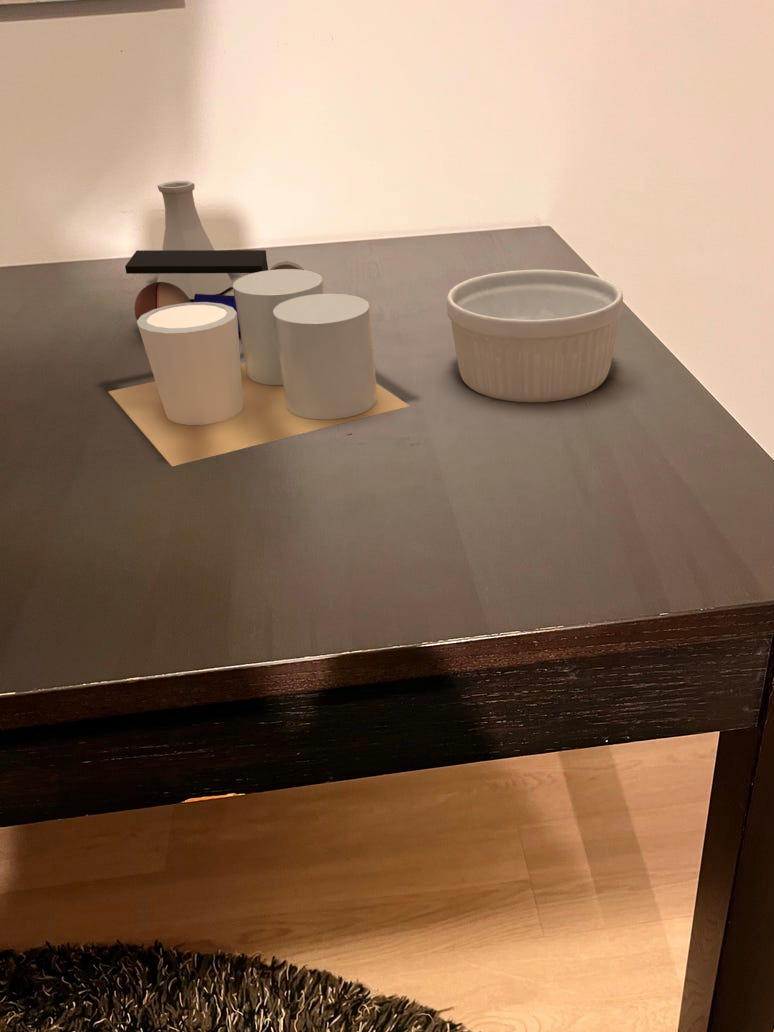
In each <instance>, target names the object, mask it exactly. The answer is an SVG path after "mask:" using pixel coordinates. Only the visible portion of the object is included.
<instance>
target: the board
mask: <svg viewBox="0 0 774 1032" xmlns="http://www.w3.org/2000/svg"><path fill="white" fill-rule="evenodd" d="M240 365H241V379H242V394H243V408H242V410H241V412H240V413H238V414H237V415H235V416H234V417H232V418H230V419H227V420H224V421H221V422H217V423H212V424H206V425H185V424H178V423H175V422H173V421H171V420H169V419H168V418H167V416H166V413H165V410H164V407H163V404H162V401H161V398H160V394H159V391H158V388H157V385H156V382H155V381H150V382H146V383H141V384H137V385H136V384H135V385H131V386H127V387H123V388H118V389H113V390H109V391H107V392H108V394H109V395H110V396H111V398H113V400H114V401H115V402H116V403H117V404H118V406H119V407H120V408H121V409H122V410H123V411H124V413H125V414H126V415H127V416H128V417H129V418H130V419H131V420H132V422H133V423H134V424H135V425H136V426H137V428H138V429H139V430H140V431H141V432H142V433H143V435H144V436H145V437H146V438H147V440H148V441H149V442H150V443H151V444H152V445H153V447H155V448H156V450H157V451H158V452H159V453H160V454H161V455H162V457H163V458H164V459H165V460H166V461H167V463H168V464H169V465H170V466H171V467H176V466H180V465H185V464H188V463H192V462H196V461H200V460H205V459H208V458H211V457H216V456H219V455H224V454H228V453H231V452H236V451H240V450H244V449H248V448H251V447H255V446H259V445H263V444H267V443H271V442H275V441H279V440H282V439H288V438H290V437H295V436H299V435H303V434H307V433H311V432H314V431H318V430H322V429H326V428H330V427H334V426H338V425H342V424H347V423H349V422H354V421H358V420H362V419H366V418H369V417H370V418H371V417H374V416H377V415H381V414H385V413H389V412H394V411H397V410H402V409H406V408H409V407H411V405H409V404H408V403H407V402H405V401H404V400H402V399H401V398H399V396H396V395H394V394H393V393H392V392H390V391H388V390H387V389H385V387H383V386H381V385H379V383H377V382H376V388H377V402H376V404H375V405H374V406H373V407H372V408H371V409H369V410H368V411H366V412H363V413H361V414H358V415H355V416H352V417H347V418H341V419H332V420H315V419H307V418H303V417H299V416H296V415H294V414H292V413H291V412H289V410H288V409H287V407H286V402H285V395H284V388H283V386H273V385H265V384H260V383H257V382H254V381H252V380H251V379H250V378H249V377H248V376H247V371H246V365H245V361H244V362H243V361H242V362H240Z"/></svg>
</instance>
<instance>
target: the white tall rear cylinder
mask: <svg viewBox="0 0 774 1032" xmlns="http://www.w3.org/2000/svg"><path fill="white" fill-rule="evenodd" d="M232 283H233V286H232V290H233V296H234V297H235V303H236V309H237V316H238V322H239V328H240V332H239V333H240V340H241V345H242V352H243V359H244V362H245V365H246V371H247V376H248V377H249V378H250V379H251V380H252V381H254V382H257V383H260V384H265V385H273V386H283V381H282V374H281V367H280V359H279V352H278V345H277V338H276V331H275V324H274V317H273V310H274V308H275V307H276V306H277V305H279V304H280V303H282V302H284V301H287V300H290V299H293V298H297V297H301V296H307V295H314V294H325V289H324V288H325V286H324V279H323V277H322V275H320V274H319V273H317V272H314V271H311V270H306V269H304V270H298V269H277V270H270V269H268V271H261V272H256V273H248V274H246V275H243V276H240V277H239V278H237V279H236V280H235V281H234V282H232Z"/></svg>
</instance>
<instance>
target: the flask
mask: <svg viewBox="0 0 774 1032" xmlns="http://www.w3.org/2000/svg"><path fill="white" fill-rule="evenodd" d="M195 186H196V185H195V183H194V182H192V181H189V180H172V181H165V182H162V183H159V184H157V189H158V191H159V192H160V193H161V195H162V199H163V204H164V220H165V221H164V224H165V225H164V227H165V228H164V235H163V244H162V249H161V250H215V248H214V247H213V244H212V242H211V240H210V238H209V236H208V234H207V233H206V231H205V229H204V227H203V225H202V222H201V219H200V216H199V213H198V211H197V207H196V204H195V198H194V194H193V191H194V190H195V188H196V187H195ZM156 282H167V283H171V284H173V285H175V286H177V287H179V288H180V289H181V290H183V291H184V292H185V294H186V295H187V296H188V298H189V300H194V296H195V294H209V295H221V294H222V293H223V292H225V291H227V290H228V289H230V288H231V287H233V283H234V282H233V281H232V279H231V277H230V275H229V273H172V274H157V279H156Z"/></svg>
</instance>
